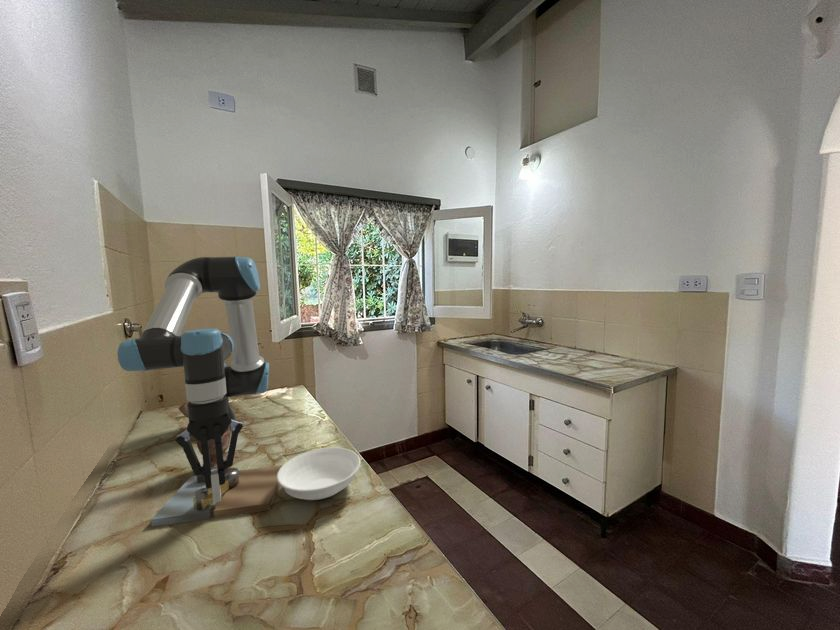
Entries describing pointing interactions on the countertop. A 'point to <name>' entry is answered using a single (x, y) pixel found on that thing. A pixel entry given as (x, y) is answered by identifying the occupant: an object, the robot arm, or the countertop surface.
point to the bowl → (318, 473)
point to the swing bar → (205, 495)
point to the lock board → (222, 497)
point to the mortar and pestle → (212, 447)
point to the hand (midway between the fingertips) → (217, 498)
